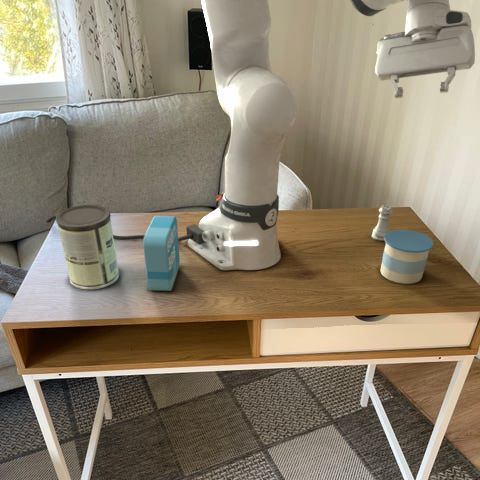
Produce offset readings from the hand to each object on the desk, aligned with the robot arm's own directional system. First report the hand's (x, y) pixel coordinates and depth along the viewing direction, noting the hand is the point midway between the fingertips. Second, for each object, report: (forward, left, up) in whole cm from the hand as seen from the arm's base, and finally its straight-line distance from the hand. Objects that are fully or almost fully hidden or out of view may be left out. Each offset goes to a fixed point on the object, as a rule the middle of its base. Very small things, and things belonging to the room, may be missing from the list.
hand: (420, 94), depth 109 cm
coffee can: (-33, -66, -32) cm, 81 cm away
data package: (-22, -56, -32) cm, 68 cm away
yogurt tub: (+13, -19, -31) cm, 39 cm away
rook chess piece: (+1, -7, -32) cm, 32 cm away
